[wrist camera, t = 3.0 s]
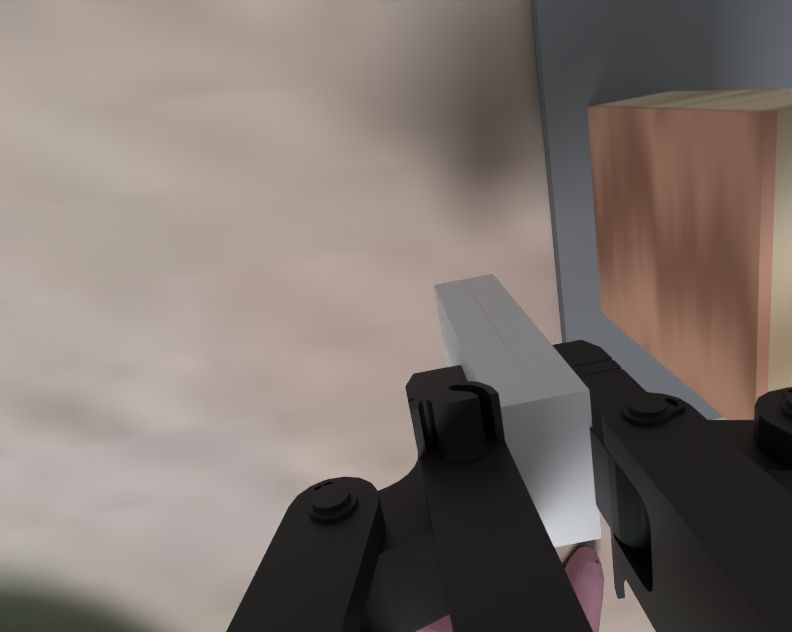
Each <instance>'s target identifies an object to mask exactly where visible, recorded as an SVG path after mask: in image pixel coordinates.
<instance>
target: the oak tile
mask: <svg viewBox="0 0 792 632" xmlns="http://www.w3.org/2000/svg"><path fill="white" fill-rule="evenodd" d="M587 111H588V126H589V141H590V155H591V170H592V185H593V200H594V215H595V230H596V245H597V260H598V275H599V290H600V305H601V313H602V314H603V315H605V316H606V317H607V318H608V319H609V320H610V321H612V322H613V323H614V324H615V325H616V326H617V327H619V328H620V329H621V330H622V331H623V332H625V333H626V334H627V335H628V336H629V337H630V338H632V339H633V340H634V341H635V342H636V343H638V344H639V345H640V346H641V347H642V348H643V349H645V350H646V351H647V352H648V353H649V354H651V355H652V356H653V357H654V358H655V359H656V360H658V361H659V362H660V363H661V364H662V365H663V366H665V367H666V368H667V369H668V370H669V371H671V372H672V373H673V374H674V375H675V376H676V377H678V378H679V379H680V380H681V381H682V382H684V383H685V384H686V385H687V386H688V387H689V388H691V389H692V390H693V391H694V392H695V393H696V394H698V395H699V396H700V397H701V398H702V399H704V400H705V401H706V402H707V403H708V404H709V405H711V406H712V407H713V408H714V409H715V410H717V411H718V412H719V413H720V414H721V415H722V416H724V417H725V418H726V419H727V420H754V406H755V403H756V401H757V399H758V397H760V396H762V395H764V394H765V393H767V392H769V391H774V390H778V389H783V388H787V387H792V89H759V90H712V91H668V92H663V93H658V94H653V95H647V96H642V97H637V98H632V99H626V100H621V101H616V102H611V103H606V104H600V105H595V106H590V107H587Z"/></svg>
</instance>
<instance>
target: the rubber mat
mask: <svg viewBox="0 0 792 632" xmlns="http://www.w3.org/2000/svg"><path fill="white" fill-rule="evenodd" d="M531 5H532V16H533V27H534V38H535V49H536V59H537V70H538V81H539V92H540V103H541V114H542V125H543V136H544V147H545V158H546V168H547V179H548V190H549V201H550V212H551V223H552V234H553V245H554V256H555V267H556V277H557V288H558V299H559V310H560V321H561V332H562V343H566V342H571V341H576V340H584V341H586V342H589V343H592V344H594V345H597V346H599V347H601V348H602V349H603V350H604V351H605V352H606V353H607V354H608V355H609V356H611V357H612V360H615V361H616V362H617V363H618V364H619V365H620V366H621V368H622V370H623V369H624V370H625V371H626V372H627V373H628V374H629V375H630V376H631V377H632V378H633V379H634V380H635V381H636V382H637V383H638V384H639V385H640V386H641V387H642V388H643V389H644V390H645V391H646V392H651V393H663V394H667V395H670V396H674V397H678V398H680V399H682V400H683V401H685V402H687V403H688V404H690V405H691V406H693V407H694V408H695V409H696V410H697V411H698V412H699V413H700V414H702V415H703V416H704V417H705V418H706V419H707V420H711V419H716V418H721V417H724V416H722V415H721V414H720V413H719V412H718V411H717V410H715V409H714V408H713V407H712V406H711V405H709V404H708V403H707V402H706V401H705V400H704V399H702V398H701V397H700V396H699V395H698V394H696V393H695V392H694V391H693V390H692V389H691V388H689V387H688V386H687V385H686V384H685V383H684V382H682V381H681V380H680V379H679V378H678V377H676V376H675V375H674V374H673V373H672V372H671V371H669V370H668V369H667V368H666V367H665V366H663V365H662V364H661V363H660V362H659V361H658V360H656V359H655V358H654V357H653V356H652V355H651V354H649V353H648V352H647V351H646V350H645V349H643V348H642V347H641V346H640V345H639V344H638V343H636V342H635V341H634V340H633V339H632V338H630V337H629V336H628V335H627V334H626V333H625V332H623V331H622V330H621V329H620V328H619V327H617V326H616V325H615V324H614V323H613V322H612V321H610V320H609V319H608V318H607V317H606V316H605V315H603V314H602V313H601V305H600V290H599V275H598V260H597V245H596V230H595V215H594V200H593V185H592V170H591V155H590V141H589V126H588V111H587V107H590V106H595V105H600V104H606V103H611V102H616V101H621V100H626V99H632V98H637V97H642V96H647V95H653V94H658V93H663V92H668V91H712V90H759V89H792V0H531Z"/></svg>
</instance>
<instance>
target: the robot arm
mask: <svg viewBox="0 0 792 632" xmlns="http://www.w3.org/2000/svg"><path fill="white" fill-rule="evenodd" d="M434 290H435V296H436V302H437V308H438V314H439V320H440V326H441V332H442V338H443V344H444V350H445V356H446V363H447V367H446V368H441V369H436V370H431V371H426V372H420V373H415V374H413V375H412V377H411V378H410V380H409V382H408V383H407V385H406V392H407V397H408V403H409V408H410V413H411V418H412V423H413V428H414V434H415V439H416V444H417V449H418V460H417V462H416V464H415V467H414V468H413V469H412V470H411V471H410V473H409V474H408V475H406V476H405V477H404V478H402V479H401V480H400V481H398V482H396V483H394V484H393V485H391V486H389V487H387V488H384V489H382V490H379V491H377V489H376V488H375V487H374V486H373V484H372V483H370V482H368V481H366V480H363V479H361V478H355V477H339V478H334V479H328V480H325V481H322V482H319V483H317V484H315V485H313V486H310V487H309V488H308V489H306V490H305V491H303V492H302V493H301V494H299V495H298V496H297V497H296V498H295V499H294V501H293V502H292V503H291V505H290V506H289V507H288V509H287V511H286V513H285V515H284V517H283V519H282V521H281V523H280V525H279V527H278V529H277V531H276V533H275V535H274V537H273V539H272V541H271V543H270V545H269V547H268V549H267V551H266V553H265V555H264V557H263V559H262V561H261V563H260V565H259V567H258V569H257V571H256V573H255V575H254V577H253V579H252V581H251V583H250V585H249V587H248V589H247V591H246V593H245V595H244V597H243V599H242V601H241V603H240V605H239V607H238V609H237V611H236V613H235V615H234V617H233V619H232V621H231V623H230V625H229V627H228V629H227V631H226V632H416V631H418V630H420V629H422V628H424V627H426V626H428V625H430V624H432V623H433V622H435V621H437V620H439V619H441V618H443V617H445V616H447V615H450V620H451V625H452V630H453V632H593V630H592V628H591V626H590V624H589V621H588V619H587V617H586V615H585V613H584V611H583V608H582V606H581V604H580V602H579V600H578V598H577V595H576V593H575V591H574V589H573V587H572V585H571V583H570V580H569V578H568V576H567V574H566V572H565V570H564V567H563V565H562V563H561V561H560V559H559V557H558V554H557V552H556V550H555V548H554V547H559V546H564V545H569V544H574V543H580V542H585V541H590V540H595V539H600V538H601V528H600V515H599V510H600V512H601V514H602V515H603V517H604V519H605V520H606V522H607V524H608V525H609V527H610V529H611V543H612V556H613V570H614V584H615V590H616V594H617V598H618V599H620V598H625V592H624V582H625V579H626V580H627V582H628V584H629V585H630V587H631V589H632V591H633V592H634V595H635V596H636V598H637V599H638V601H639V603H640V605H641V606H642V608H643V610H644V612H645V613H646V615H647V617H648V619H649V620H650V622H651V624H652V626H653V627H654V629H655V631H656V632H792V387H787V388H783V389H778V390H774V391H769V392H767V393H765V394H764V395H762V396H760V397H758V399H757V401H756V403H755V406H754V420H707V419H706V418H705V417H704V416H703V415H702V414H700V413H699V412H698V411H697V410H696V409H695V408H694V407H693V406H691V405H690V404H688V403H687V402H685V401H683V400H682V399H680V398H678V397H674V396H670V395H667V394H663V393H651V392H646V391H645V390H644V389H643V388H642V387H641V386H640V385H639V384H638V383H637V382H636V381H635V380H634V379H633V378H632V377H631V376H630V375H629V374H628V373H627V372H626V371H625V370H624V369H623V370H622V368H621V366H620V365H619V364H618V363H617V362H616V361H615V360H612V357H611V356H609V355H608V354H607V353H606V352H605V351H604V350H603V349H602V348H601V347H599V346H597V345H594V344H592V343H589V342H586V341H584V340H576V341H571V342H566V343H561V344H556V345H552V344H551V343H550V342H549V341H548V340H547V338H546V337H545V336H544V335H543V334H542V332H541V331H540V330H539V329H538V328H537V326H536V325H535V324H534V323H533V322H532V320H531V319H530V318H529V317H528V316H527V314H526V313H525V312H524V311H523V310H522V308H521V307H520V306H519V305H518V304H517V302H516V301H515V300H514V299H513V298H512V296H511V295H510V294H509V293H508V292H507V290H506V289H505V288H504V287H503V286H502V284H501V283H500V282H499V281H498V280H497V278H496V277H495V276H494V275H493V274H490V275H484V276H479V277H474V278H469V279H464V280H458V281H453V282H448V283H443V284H438V285H434Z"/></svg>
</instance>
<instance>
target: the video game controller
mask: <svg viewBox="0 0 792 632" xmlns="http://www.w3.org/2000/svg"><path fill="white" fill-rule="evenodd" d="M564 570H565V572H566V574H567V576H568V578H569V580H570V583H571V585H572V587H573V589H574V591H575V593H576V595H577V598H578V600H579V602H580V604H581V606H582V608H583V611H584V613H585V615H586V617H587V619H588V621H589V624H590V626H591V628H592V630H593V632H599V625H600V616H601V608H602V599H603V586H604V577H603V571H602V565H601V562H600V560H599V557H598V555H597V554H596V552H595V551H594V550H593V549H592V548H590V547H586V546H585V547H579V548H578V549H577V551H576V552H575V553H574V554H573V555H572V556H571V557H570V559H569V561H568V563H567V565H566V567H565V569H564ZM416 632H453V630H452V625H451V620H450V615H447V616H445V617H443V618H441V619H439V620H437V621H435V622H433V623H432V624H430V625H428V626H426V627H424V628H422V629H420V630H418V631H416Z"/></svg>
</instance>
